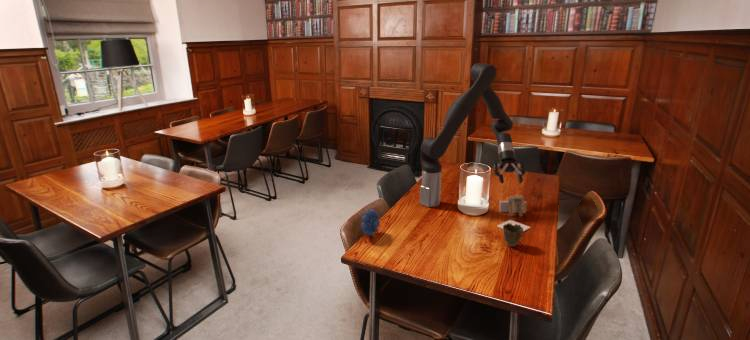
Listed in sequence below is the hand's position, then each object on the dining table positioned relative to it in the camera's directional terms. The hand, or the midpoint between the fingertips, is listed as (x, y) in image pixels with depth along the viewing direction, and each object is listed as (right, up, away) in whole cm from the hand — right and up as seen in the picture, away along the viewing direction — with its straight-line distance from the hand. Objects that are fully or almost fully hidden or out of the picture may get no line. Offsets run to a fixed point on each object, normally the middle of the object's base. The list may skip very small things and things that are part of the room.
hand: (511, 182), depth 190 cm
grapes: (-66, -22, -24) cm, 74 cm away
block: (0, -14, -1) cm, 14 cm away
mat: (-5, -19, -17) cm, 26 cm away
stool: (0, -15, -6) cm, 16 cm away
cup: (-11, -24, -32) cm, 42 cm away
